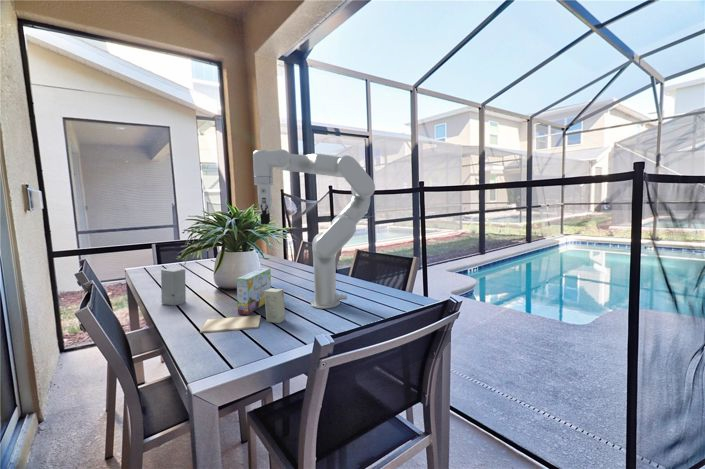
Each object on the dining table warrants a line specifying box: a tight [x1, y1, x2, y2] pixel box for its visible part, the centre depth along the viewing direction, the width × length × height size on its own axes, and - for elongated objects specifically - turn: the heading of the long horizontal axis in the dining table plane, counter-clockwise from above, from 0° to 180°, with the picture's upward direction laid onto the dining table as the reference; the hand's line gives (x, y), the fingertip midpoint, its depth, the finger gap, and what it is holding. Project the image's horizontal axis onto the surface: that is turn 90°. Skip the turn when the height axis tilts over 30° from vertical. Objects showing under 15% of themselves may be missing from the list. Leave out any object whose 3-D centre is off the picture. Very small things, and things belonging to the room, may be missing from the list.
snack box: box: [236, 267, 272, 316], centre depth 149 cm, size 21×6×15 cm, turn 168°
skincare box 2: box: [264, 287, 286, 324], centre depth 131 cm, size 6×4×12 cm
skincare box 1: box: [160, 267, 187, 306], centre depth 156 cm, size 8×7×16 cm
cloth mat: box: [199, 314, 262, 334], centre depth 129 cm, size 20×12×1 cm, turn 101°
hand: (265, 223), depth 142 cm, fingers open, 9 cm apart
